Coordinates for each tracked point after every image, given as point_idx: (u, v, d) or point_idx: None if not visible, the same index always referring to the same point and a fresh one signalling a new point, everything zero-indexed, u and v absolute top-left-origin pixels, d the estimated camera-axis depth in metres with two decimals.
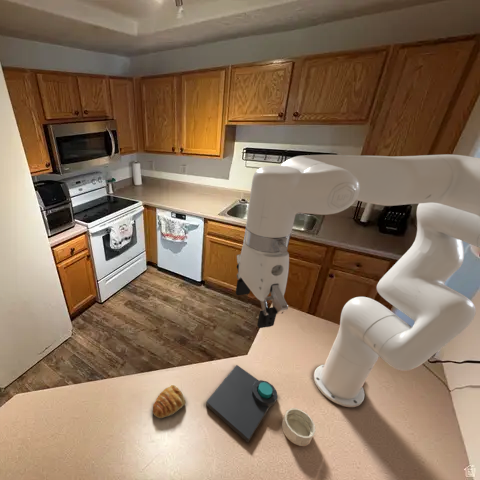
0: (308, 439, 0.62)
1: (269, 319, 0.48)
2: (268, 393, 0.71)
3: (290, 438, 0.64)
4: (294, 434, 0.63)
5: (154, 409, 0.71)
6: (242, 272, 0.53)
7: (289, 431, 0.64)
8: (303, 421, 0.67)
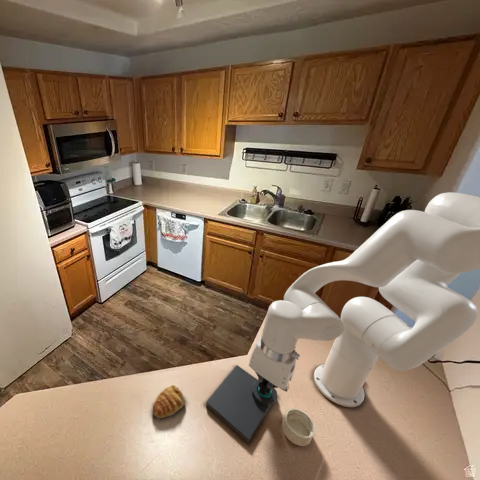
0: (308, 439, 0.62)
1: None
2: (267, 395, 0.71)
3: (290, 438, 0.64)
4: (294, 434, 0.63)
5: (154, 409, 0.71)
6: (257, 368, 0.68)
7: (289, 431, 0.64)
8: (303, 421, 0.67)
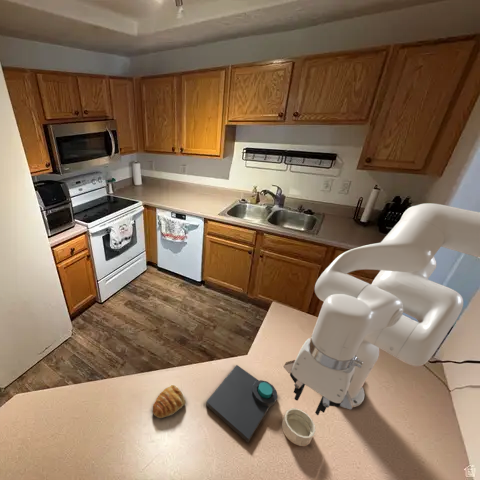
0: (308, 439, 0.62)
1: None
2: (268, 393, 0.71)
3: (290, 438, 0.64)
4: (294, 434, 0.63)
5: (154, 409, 0.71)
6: (302, 377, 0.56)
7: (289, 431, 0.64)
8: (303, 421, 0.67)
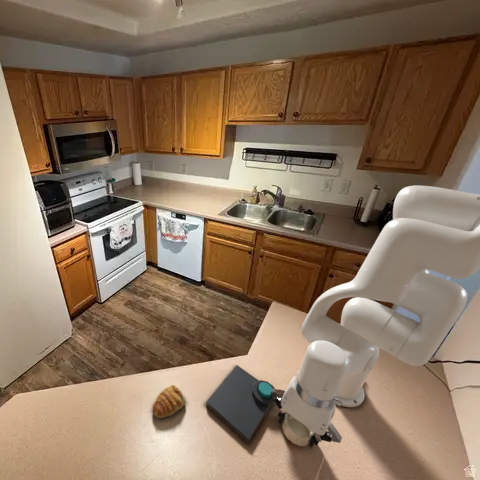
0: (308, 439, 0.62)
1: None
2: (268, 393, 0.71)
3: (290, 438, 0.64)
4: (294, 434, 0.63)
5: (154, 409, 0.71)
6: (290, 410, 0.62)
7: (289, 431, 0.64)
8: None
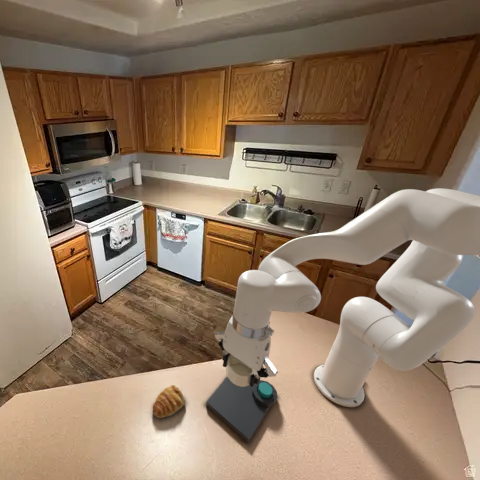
0: (248, 378, 0.62)
1: (258, 378, 0.61)
2: (268, 393, 0.71)
3: (231, 379, 0.64)
4: (234, 373, 0.62)
5: (154, 409, 0.71)
6: (230, 349, 0.62)
7: (230, 371, 0.63)
8: None
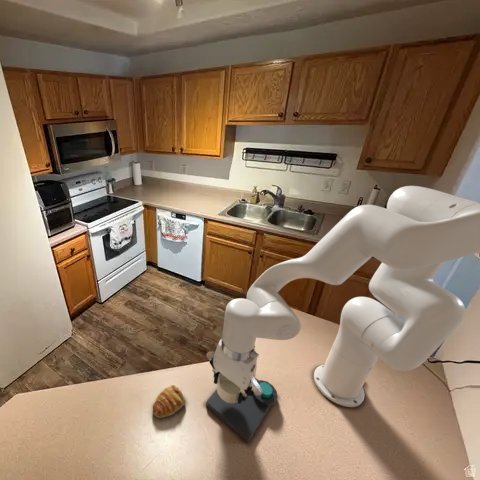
0: (236, 395, 0.66)
1: (246, 396, 0.66)
2: (268, 393, 0.71)
3: (221, 396, 0.68)
4: (223, 391, 0.67)
5: (154, 409, 0.71)
6: (220, 368, 0.67)
7: (220, 389, 0.68)
8: None
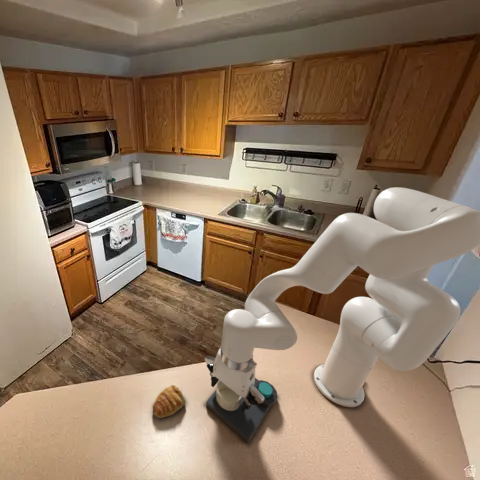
0: (234, 403, 0.68)
1: (249, 404, 0.67)
2: (268, 393, 0.71)
3: (220, 404, 0.70)
4: (222, 399, 0.69)
5: (154, 409, 0.71)
6: (219, 376, 0.68)
7: (219, 397, 0.70)
8: None
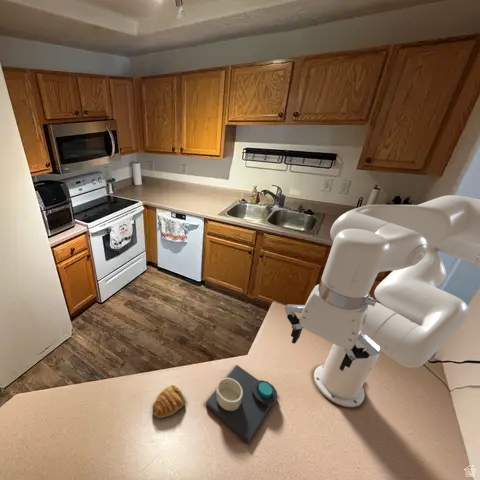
0: (234, 403, 0.68)
1: None
2: (268, 393, 0.71)
3: (220, 404, 0.70)
4: (222, 399, 0.69)
5: (154, 409, 0.71)
6: (311, 326, 0.54)
7: (219, 397, 0.70)
8: (235, 389, 0.73)
